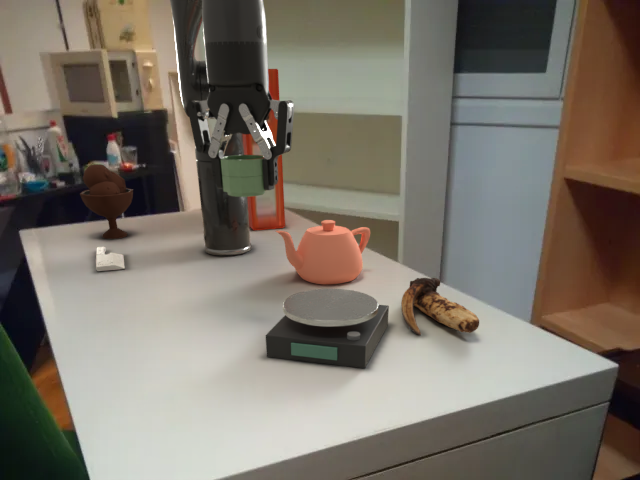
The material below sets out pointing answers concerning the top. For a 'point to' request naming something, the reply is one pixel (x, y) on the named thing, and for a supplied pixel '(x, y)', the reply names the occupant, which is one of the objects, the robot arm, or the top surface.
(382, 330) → the scale
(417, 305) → the partly peeled banana
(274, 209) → the file binder
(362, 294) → the scale pan
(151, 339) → the top surface
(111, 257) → the white slab with peg
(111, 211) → the ice cream bowl
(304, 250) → the teapot
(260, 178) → the green cup
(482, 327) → the top surface
